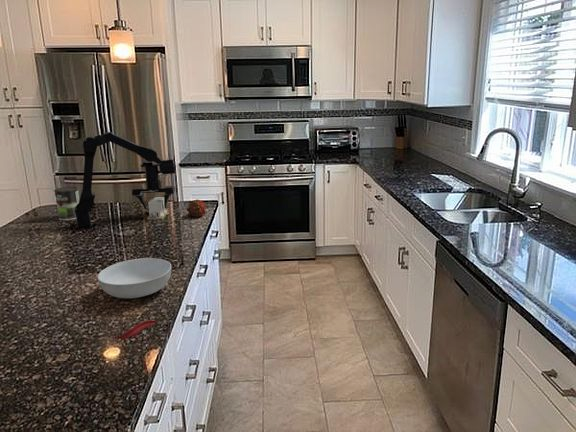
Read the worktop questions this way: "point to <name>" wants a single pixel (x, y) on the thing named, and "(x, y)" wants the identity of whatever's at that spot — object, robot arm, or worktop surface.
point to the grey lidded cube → (155, 207)
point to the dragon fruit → (197, 208)
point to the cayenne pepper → (137, 329)
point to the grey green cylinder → (66, 202)
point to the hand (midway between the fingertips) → (155, 208)
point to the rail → (155, 215)
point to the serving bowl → (135, 277)
